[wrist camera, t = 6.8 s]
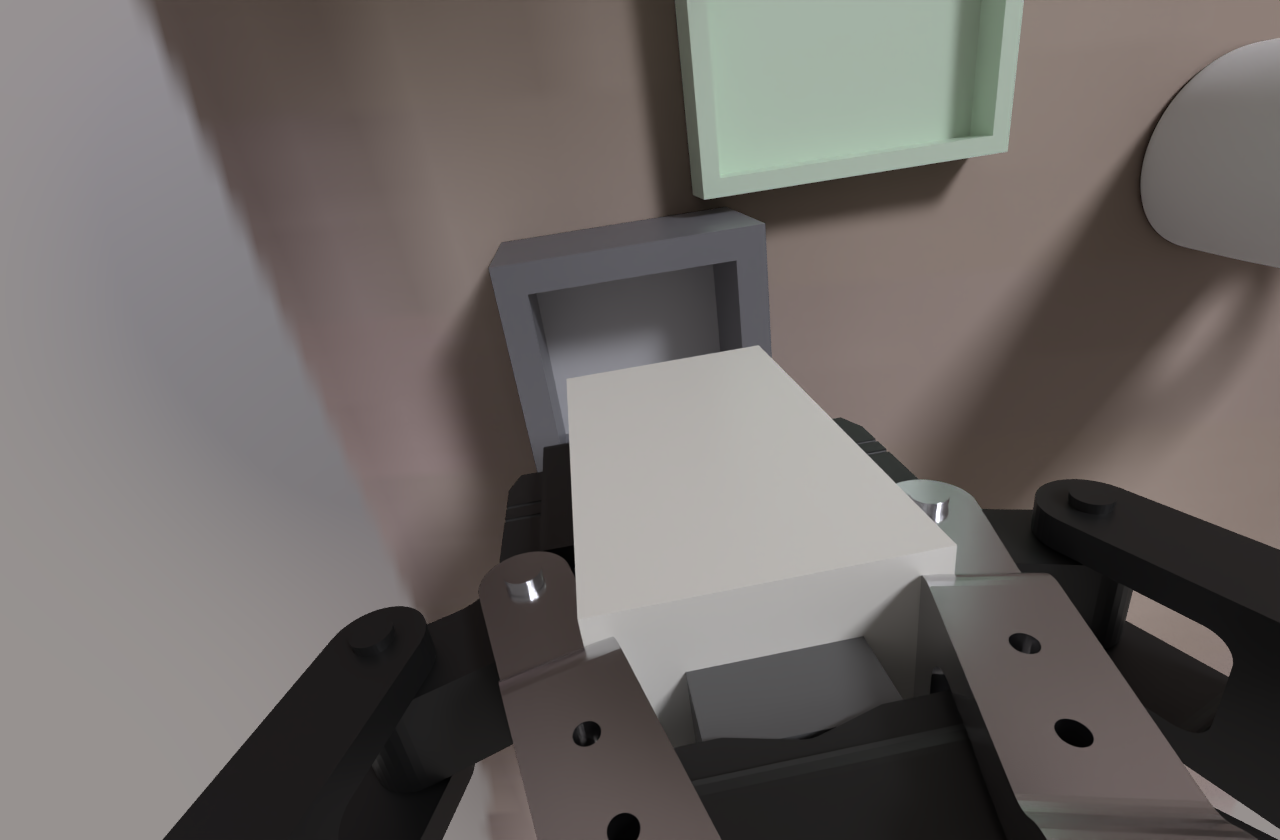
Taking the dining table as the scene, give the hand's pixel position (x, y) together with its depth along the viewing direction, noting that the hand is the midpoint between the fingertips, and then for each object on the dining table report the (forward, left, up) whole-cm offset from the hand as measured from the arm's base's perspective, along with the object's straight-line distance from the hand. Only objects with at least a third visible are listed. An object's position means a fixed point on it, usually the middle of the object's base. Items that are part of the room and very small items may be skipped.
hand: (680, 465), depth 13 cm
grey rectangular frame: (+4, 0, -9) cm, 10 cm away
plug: (0, 0, -1) cm, 1 cm away
